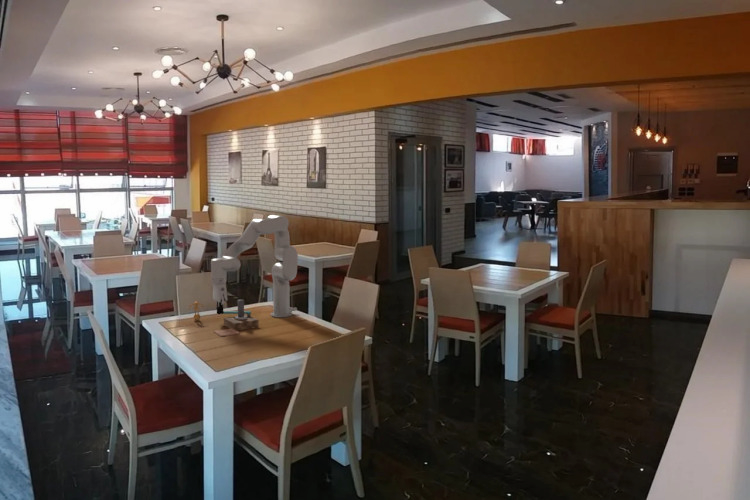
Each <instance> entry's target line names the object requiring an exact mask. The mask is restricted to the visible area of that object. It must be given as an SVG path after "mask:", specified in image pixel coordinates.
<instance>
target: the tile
mask: <svg viewBox="0 0 750 500" xmlns="http://www.w3.org/2000/svg"><path fill="white" fill-rule="evenodd" d="M213 333H214V334H216V335H218V336H219V337H228V336H234V335H240V334H241V333H240V332H239V330H234V329H230V328H228V329H227V328H226V329H220V330H214V331H213Z"/></svg>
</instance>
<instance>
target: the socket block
mask: <svg viewBox="0 0 750 500" xmlns="http://www.w3.org/2000/svg"><path fill="white" fill-rule="evenodd" d="M251 314H252V313H251ZM251 314H244V316H247V319H245V320H241V321H237V320H236V319H235V317H236V316H237V315H235V316H230V317H229V316H228V317H223V326H225V327H226V328H228V329H234V330H236V331H240V330H241V331H242V330H246V329H253V328H259V319H258V318H255V317H253V316H251Z"/></svg>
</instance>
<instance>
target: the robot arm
mask: <svg viewBox="0 0 750 500" xmlns="http://www.w3.org/2000/svg"><path fill="white" fill-rule="evenodd" d="M289 223H290V222H289V219H288V217H286V216H284V215H281V214H280V215H279V214H270V215H268V216H267V217H266V218H253V219H252V220H251V221H250V223H249V224H248V225H247V227H246V228H245V230H244V231H243V232H242V234H241V235H240V236H239V238H238V239H237V240H235V241H233V243H232V244H231V245H229V247H227V249H226V250H225V251H224V253H223V254H222V256H221V257H219V258H218V257H216V258H215V257H214V258H212V259H211V260H210V273H211V274H210V275H211V285H212V300H214V301H215V305H216V306H215V307H216V314H217V315H224V314H223V311H224V305H225V302H227V301H228V293H227V292H228V291H227V290H228V289H227V285H226V283H227V282H226V281H227V279H226V272H236V271H238V270H239V269H240V268H241V261H240V260H239V259H238V256H239V255H240V254H241V253H243V252H244V251H247V250H249V249H251V248H252V247H253V246H254V244H255V243H256V242H257V240H258V239H259V238H260V236H261V235H271V234H273V235H274V257H275V259H277V260H278V262H276V263H274V264H273V266H272V267H271V277H272V292H273V293H272V297H273V301H272V307H273V310H272V311H273V312H271V313H270V316H271V317H272V318H279V319H280V318H288V317H289V318H290V317H291V316H293V312H296V311H297V310H298V308H297V307H293V306H290V281H293V280H294V279H295V278H296V277H297V274H298V263H299V262H298V261H299V260H298V259H299V258H298V257H299V256H298V251H297V249H296V248H295V247H294V246H293V245H290V244H291V241H290V232H289V229H288V228H289ZM279 261H280V262H279ZM281 261H282V262H281Z"/></svg>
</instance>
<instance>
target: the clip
mask: <svg viewBox="0 0 750 500" xmlns="http://www.w3.org/2000/svg"><path fill="white" fill-rule="evenodd" d="M247 314H252V311H251V310H244V315H247ZM222 315H238V310H237V311H236V310H223V314H222Z"/></svg>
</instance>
